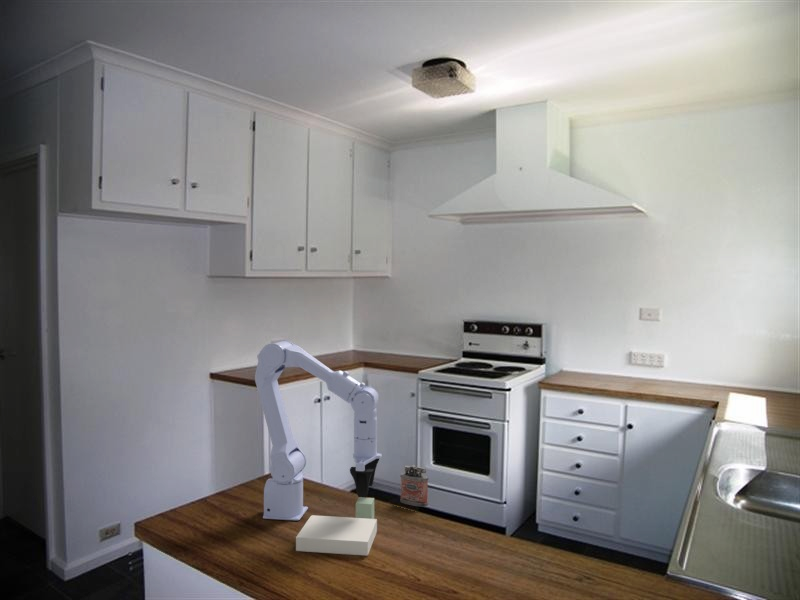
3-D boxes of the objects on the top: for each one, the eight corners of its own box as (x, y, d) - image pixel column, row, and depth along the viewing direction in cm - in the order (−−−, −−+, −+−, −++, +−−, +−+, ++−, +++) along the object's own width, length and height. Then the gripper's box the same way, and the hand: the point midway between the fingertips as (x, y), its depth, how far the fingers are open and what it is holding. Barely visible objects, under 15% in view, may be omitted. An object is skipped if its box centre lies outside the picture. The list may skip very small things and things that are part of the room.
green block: (355, 523, 136) (355, 503, 136) (358, 516, 140) (358, 497, 140) (371, 524, 136) (371, 504, 136) (374, 517, 140) (374, 498, 139)
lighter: (397, 502, 150) (398, 465, 150) (403, 498, 153) (403, 462, 153) (424, 507, 146) (425, 470, 146) (430, 503, 149) (430, 466, 149)
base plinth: (295, 550, 121) (296, 537, 121) (311, 527, 133) (311, 515, 133) (367, 555, 119) (367, 541, 119) (376, 531, 131) (377, 519, 131)
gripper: (376, 445, 130) (376, 502, 130) (385, 429, 144) (385, 481, 144) (347, 444, 131) (347, 501, 131) (359, 428, 145) (359, 480, 145)
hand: (365, 490), depth 138 cm, fingers open, 7 cm apart
